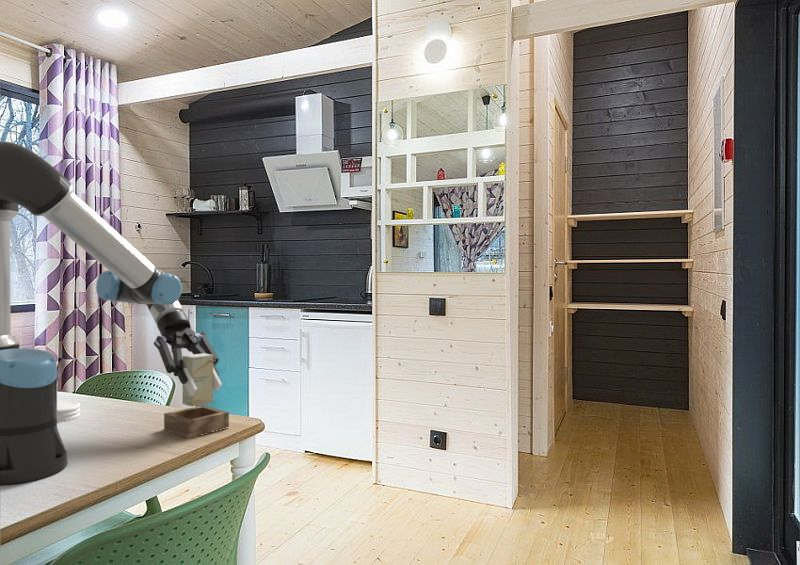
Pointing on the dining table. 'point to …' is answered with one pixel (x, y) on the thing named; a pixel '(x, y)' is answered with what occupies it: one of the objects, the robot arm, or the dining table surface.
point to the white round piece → (67, 410)
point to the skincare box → (199, 379)
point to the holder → (196, 421)
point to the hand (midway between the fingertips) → (206, 390)
